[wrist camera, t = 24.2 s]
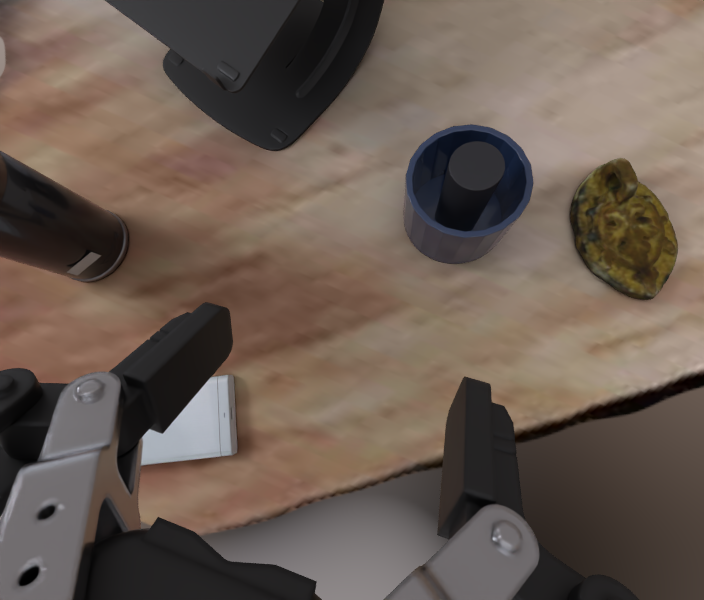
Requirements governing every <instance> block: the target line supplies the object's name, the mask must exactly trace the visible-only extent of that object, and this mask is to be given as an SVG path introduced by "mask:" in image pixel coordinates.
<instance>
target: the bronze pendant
mask: <svg viewBox="0 0 704 600" xmlns="http://www.w3.org/2000/svg"><path fill="white" fill-rule="evenodd" d="M570 218H571V223H572V226H573V229H574V232H575V237H576V247H577V249H578V250H579V252H580V254H581V256H582V257H583V259H584V261H585V263H586V265H587V266H588V267H589V269H590V270H591V271H592V272H593V273H594V274H595V275H597V276H598V277H600V278H602V279H603V280H604V281H605V282H607V283H608V284H610V285H611V286H612V287H613V288H615V289H616V290H618V291H620V292H622V293H624V294H626V295H628V296H629V297H633V298H636V299H643V300H649V299H652V298H654V297H655V296H656V295H657V293H658V292H659V291H660V290H661V288H662V287H663V284H664V283H665V282H666V281H667V279H668V278H669V275H670V274H671V272H672V270H673V267H674V264H675V262H676V257H677V252H678V244H677V239H676V236H675V232H674V229H673V226H672V224H671V222H670V220H669V217H668V213H667V212H666V210H665V209H664V207H663V205H662V204H661V202H660V201H659V199H658V198H657V197H656V196H655V195H654V193H653V192H652V191H650V190H649V189H648V188H647V187H646V186H645V185H643V184H641V183H640V182H638V181H637V176H636V174H635V172H634V170H633V168H632V166H631V164H630V162H629V161H628V160H626V159H623V158H618V159H615V160H612V161H610V162H608V163H606V164H603V165H601V166H599V167H598V168H597V169H595V170H594V171H593V172H592V173H591V174H590V175H589V176H588V177H587V178H586V179H585V180H584V181H583V183H582V184H581V185H580V186H579V188H578V190H577V191H576V194H575V196H574V199H573V202H572V205H571V212H570Z"/></svg>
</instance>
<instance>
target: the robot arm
mask: <svg viewBox="0 0 704 600" xmlns="http://www.w3.org/2000/svg"><path fill="white" fill-rule="evenodd" d="M128 241H129V239H128V231H127V228H126V226H125V224H124V222H123V221H122V220H121V219H120V218H119V217H118V216H117V215H115V214H113V213H112V212H110V211H107V210H105V209H103V208H101V207H99V206H97V205H96V204H94V203H92V202H91V201H89V200H87V199H85V198H84V197H82V196H80V195H78V194H76V193H75V192H73V191H71V190H69V189H68V188H66V187H64V186H62V185H60V184H59V183H57V182H55V181H53V180H52V179H50V178H48V177H46V176H44V175H43V174H41V173H39V172H37V171H36V170H34V169H32V168H30V167H28V166H27V165H25V164H23V163H21V162H20V161H18V160H16V159H14V158H12V157H11V156H9V155H7V154H5V153H4V152H2V151H0V257H3V258H6V259H9V260H13V261H16V262H20V263H23V264H27V265H30V266H33V267H37V268H40V269H44V270H47V271H50V272H54V273H57V274H61V275H64V276H68V277H70V278H72V279H74V280H78V281H82V282H92V281H97V280H100V279H102V278H104V277H106V276H108V275H109V274H111V273H112V272H113V271H114V270H115V269H116V268H117V267H118V266H119V265H120V263H121V262H122V260H123V258H124V256H125V254H126V251H127V248H128ZM232 345H233V338H232V328H231V319H230V311H229V309H228V308H226V307H222V306H219V305H215V304H212V303H208V302H205V303H203V304H202V305H200V306H199V307H198V308H197V309H196V310H195V311H194V312H192V313H188V312H187V313H185V314H183V315H180V316H178V317H176V318H174V319H172V320H171V321H169V322H168V323H167V324H166V325H165V326H163V327H162V328H161V329H160V331H157V332H156V333H155V334H154V335H153V336H151V337H150V340H147V341H145V342H144V343H143V344H142V345H141V346H139V347H138V348H137V349H136V350H135V351H134V352H132V353H131V354H130V355H129V356H128V357H126V358H125V359H124V360H123V361H122V362H120V363H119V364H118V365H117V366H116V367H114V368H113V369H112V370H111V371H109V372H94V373H90V374H87V375H84V376H81V377H79V378H77V379H75V380H74V381H72V382H71V383H70V384H59V383H39V382H38V380H37V378H36V377H35V375H34V373H33V372H31V371H30V370H27V369H23V368H14V369H7V370H3V371H0V516H1V515H2V514H3V515H2V517H1V520H0V600H322V599H321V598H319V597H318V596H317V595H316V594H315V588H316V581H314V580H311V579H309V578H306V577H304V576H302V575H299V574H296V573H294V572H292V571H289V570H287V569H284V568H282V567H279V566H277V565H271V564H256V563H241V562H230V561H227V560H226V559H224V558H223V557H222V556H221V555H220V554H219V553H217V552H216V551H215V550H214V549H213V548H212V547H211V546H210V545H208V544H207V543H206V542H205V541H204V540H203V539H202V538H201V537H200V536H199V535H197V534H196V533H195V532H194V531H191V530H189V529H186V528H184V527H181V526H179V525H176V524H174V523H171V522H169V521H167V520H164V519H162V518H159V517H158V518H157V519H156V521H155V522H154V524H153V525H152V527H151V528H150V529H149V528H147V529H141V523H140V514H139V508H138V493H139V482H140V471H141V460H142V449H143V439H142V437H143V436H144V434H145V433H146V432H147V431H148V430H149V429H150V430H153V431H156V432H159V433H161V434H163V433H164V432H165V431H166V430H167V428H168V427H169V426H170V425H171V424H172V422H173V421H174V420H175V419H176V418H177V417H178V415H179V414H180V413H181V412H182V411H183V409H184V408H185V407H186V406H187V405H188V404H189V402H190V401H191V400H192V399H193V398H194V396H195V395H196V394H197V393H198V392H199V391H200V389H201V388H202V387H203V386H204V385H205V383H206V382H207V381H208V380H209V379H210V378H211V376H212V375H213V374H214V373H215V372H216V370H217V369H218V368H219V367H220V366H221V365H222V363H223V362H224V361H225V360H226V359H227V357H228V356H229V354H230V352H231V349H232ZM514 440H515V436H514V426H513V422H512V420H511V418H510V416H509V414H508V412H507V410H506V409H505V407H504V406H502V405H499V404H495V403H492V400H491V386H490V384H489V383H486V382H482V381H479V380H475V379H472V378H468V377H464V378H463V380H462V382H461V384H460V386H459V389H458V391H457V393H456V396H455V398H454V400H453V403H452V405H451V407H450V410H449V413H448V417H447V422H446V430H445V443H444V456H443V469H442V483H441V495H440V509H439V521H438V534H437V535H439V536H441V537H444V538H447V539H449V541H448V542H447V543H446V544H445V545H444V546H443V547H442V548H441V549H440V550H439V551H438V552H437V553H436V554H434V555H433V556H432V557H431V558H430V559H429V560H428V561H427V562H426V563H425V564H424V565H422V566H419V567H418V568H416V569H415V570H414V571H413V572H412V573H411V574H410V575H409V576H407V577H406V578H405V579H404V580H403V581H402V582H401V583H400V584H399V585H398V586H397V587H396V588H395V589H394V590H393V591H392V592H391V593H390V594H389V595H388V596H387V597H386V598H385V599H384V600H639V599H638V598H637V597H636V596H635V595H634V594H633V593H632V592H631V591H630V590H629V589H627V587H625V586H624V585H623V584H621V583H620V582H618V581H617V580H615V579H613V578H611V577H608V576H604V575H592V576H589V577H588V578H585V577H583V576H582V575H580V574H579V573H577V572H576V571H574V570H573V569H572V568H570V567H569V566H567V565H566V564H564V563H563V562H562V561H560V560H559V559H557V558H556V557H554V556H553V555H552V554H550V553H549V552H548V551H547V550H546V549H545V548H544V547H543V546H542V545H541V544H540V543H539V542H538V541H537V540H536V537H535V535H534V533H533V531H532V529H531V528H530V527H529V525H528V524H527V522H526V521H525V517H524V514H523V508H522V499H521V490H520V481H519V472H518V463H517V457H516V445H515V442H514Z"/></svg>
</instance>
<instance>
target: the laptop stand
mask: <svg viewBox="0 0 704 600" xmlns="http://www.w3.org/2000/svg"><path fill="white" fill-rule="evenodd" d="M105 1H106V2H108V3H109V4H110V5H112V6H113V7H115V8H116V9H117V10H119V11H120V12H121V13H123V14H124V15H125V16H127V17H128V18H129V19H131V20H132V21H134V22H135V23H136V24H138V25H139V26H140V27H142V28H143V29H144V30H146V31H147V32H149V33H150V34H151V35H153V36H154V37H155V38H157V39H158V40H159V41H161V42H162V43H163V44H165V45H166V46H168V47H169V48H170V50H169V51H168V53H167V54H166V56H165V58H164V60H163V68H164V71H165V73H166V74H167V75H168V77H169V78H170V79H171V81H172V82H173V83H174V84H175V85H176V86H177V87H178V88H179V89H180V91H181V92H182V93H183V94H184V95H185V96H186V97H187V98H188V99H190V100H191V101H192V102H193V103H194V104H195V105H196V106H197V107H198V108H200V109H201V110H202V111H203V112H205V113H206V114H207V115H208V116H210V117H211V118H212V119H214V120H215V121H216V122H218V123H219V124H221V125H222V126H224V127H225V128H227V129H228V130H230V131H231V132H233V133H235V134H236V135H238V136H240V137H242V138H243V139H245V140H247V141H249V142H251V143H253V144H255V145H257V146H259V147H261V148H264V149H267V150H272V151H278V150H282V149H284V148H286V147H288V146H289V145H291V144H292V143H293V142H294V141H296V140H297V139H298V138H299V137H300V136H301V135H302V134H303V133H304V132H305V131H306V130H307V129H308V128H309V127H310V125H311V124H312V123H313V122H314V121H315V120H316V119H317V118H318V117H319V116H320V115H321V114H322V113H323V112H324V111H325V110H326V108H327V107H328V106H329V105H330V104H331V103H332V102H333V101H334V100H335V98H336V97H337V96H338V94H339V93H340V92H341V91H342V89H343V88H344V87H345V85H346V84H347V82H348V81H349V79H350V78H351V76H352V75H353V74H354V72H355V70H356V68H357V67H358V65H359V63H360V62H361V60H362V58H363V56H364V54H365V52H366V50H367V49H368V47H369V45H370V42H371V40H372V38H373V36H374V33H375V30H376V27H377V24H378V21H379V18H380V14H381V11H382V7H383V3H384V0H324V2H322V1H320V0H105Z"/></svg>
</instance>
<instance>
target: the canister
mask: <svg viewBox="0 0 704 600" xmlns="http://www.w3.org/2000/svg"><path fill="white" fill-rule="evenodd" d="M504 171H505V161H504V158H503V156H502V154H501V153H500V151H499V150H498V149H497V148H496V147H494V146H493V145H491V144H488V143H485V142H479V141H475V142H469V143H466V144H464V145H462V146H460V147H459V148H457V149H456V150H455V151H454V153H453V154H452V156H451V158H450V161H449V164H448V168H447V172H446V175H445V179H444V183H443V187H442V190H441V194H440V198H439V202H438V205H437V209H436V213H435V219H436V222H438V223H439V224H441V225H443V226H445V227H446V228H451V229H455V230H460V231H471V230H472V229H473V228H474V226H475V225H476V223H477V221H478V219H479V218H480V216H481V214H482V212H483V210H484V209H485V207H486V205H487V203H488V202H489V200H490V198H491V196H492V194H493V193H494V191H495V189H496V187H497V185H498V184H499V182H500V180H501V178H502V176H503V174H504Z"/></svg>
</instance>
